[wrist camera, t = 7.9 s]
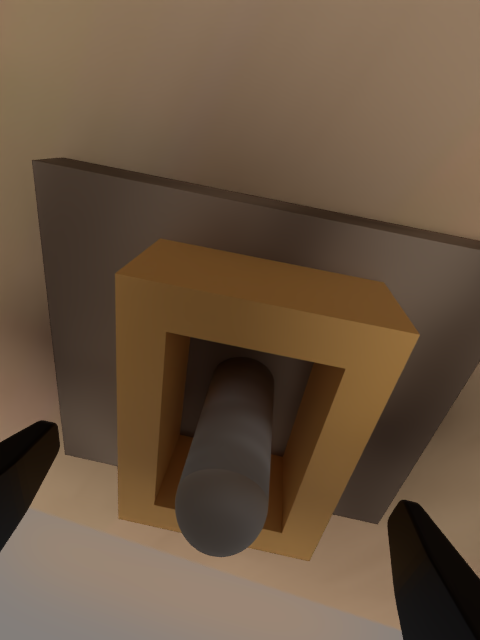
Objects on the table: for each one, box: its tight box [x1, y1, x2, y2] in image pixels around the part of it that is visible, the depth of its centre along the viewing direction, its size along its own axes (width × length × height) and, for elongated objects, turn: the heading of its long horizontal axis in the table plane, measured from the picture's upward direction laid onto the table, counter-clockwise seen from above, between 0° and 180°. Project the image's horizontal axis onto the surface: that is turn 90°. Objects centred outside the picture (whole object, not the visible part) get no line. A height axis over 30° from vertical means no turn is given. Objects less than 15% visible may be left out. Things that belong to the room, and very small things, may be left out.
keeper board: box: [32, 158, 480, 557], centre depth 10 cm, size 14×12×7 cm
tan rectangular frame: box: [115, 238, 420, 561], centre depth 11 cm, size 7×9×3 cm
